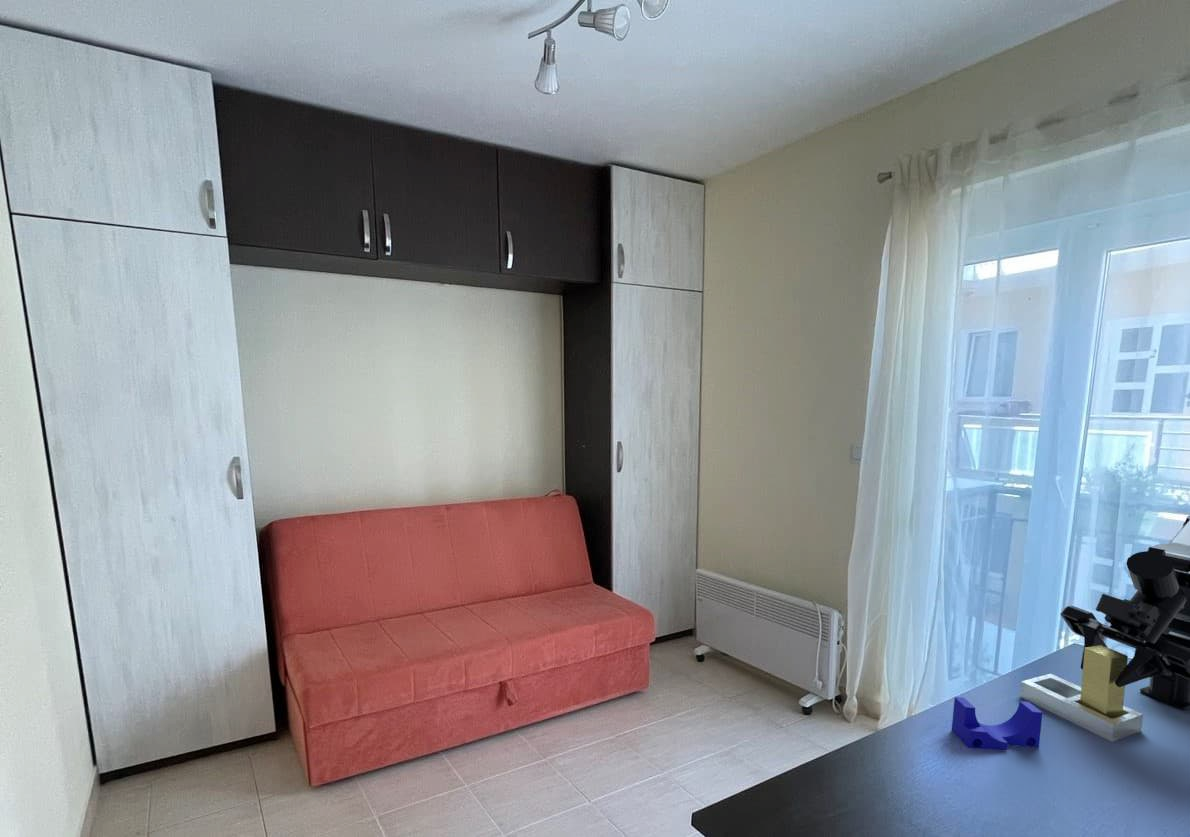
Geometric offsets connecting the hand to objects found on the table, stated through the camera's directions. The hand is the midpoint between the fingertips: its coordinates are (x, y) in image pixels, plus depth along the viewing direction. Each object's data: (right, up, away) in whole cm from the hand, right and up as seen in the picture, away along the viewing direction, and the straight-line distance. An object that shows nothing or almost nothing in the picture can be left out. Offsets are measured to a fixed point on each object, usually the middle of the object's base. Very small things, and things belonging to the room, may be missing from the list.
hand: (1099, 677), depth 97 cm
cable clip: (-22, -8, -6) cm, 24 cm away
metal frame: (0, -8, +4) cm, 9 cm away
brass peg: (+1, -9, +1) cm, 9 cm away
